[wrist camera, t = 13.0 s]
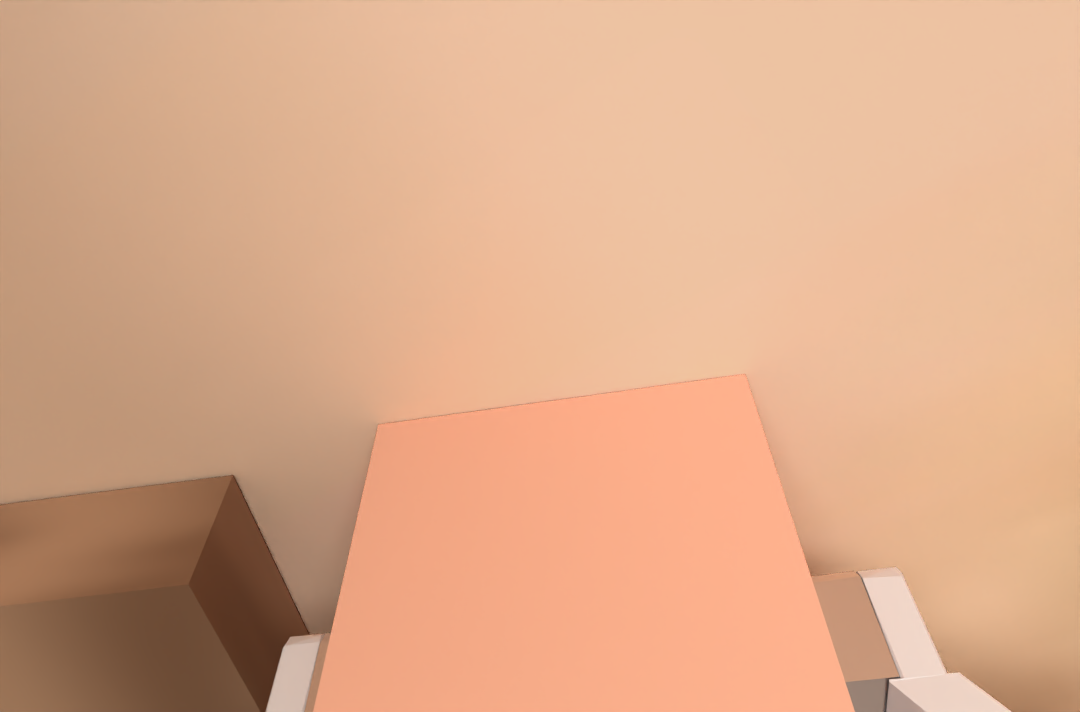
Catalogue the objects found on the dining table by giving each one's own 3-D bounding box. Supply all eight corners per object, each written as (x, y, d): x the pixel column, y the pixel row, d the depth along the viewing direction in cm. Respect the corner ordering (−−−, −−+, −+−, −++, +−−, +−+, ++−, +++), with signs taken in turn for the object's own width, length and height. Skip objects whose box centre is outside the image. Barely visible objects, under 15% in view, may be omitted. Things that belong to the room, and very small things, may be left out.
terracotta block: (746, 374, 12) (855, 712, 8) (757, 618, 15) (843, 963, 11) (378, 424, 12) (300, 769, 8) (457, 652, 15) (429, 993, 11)
